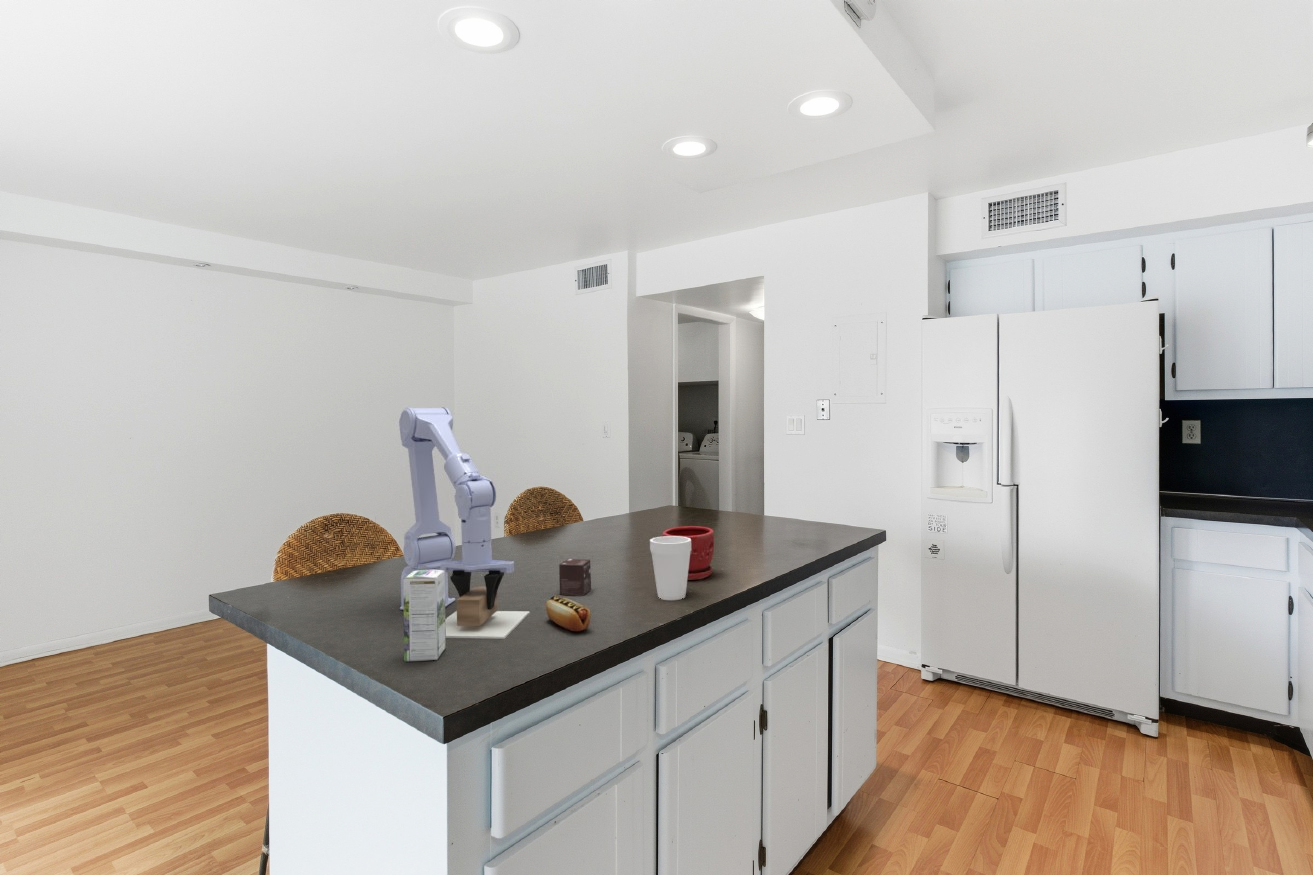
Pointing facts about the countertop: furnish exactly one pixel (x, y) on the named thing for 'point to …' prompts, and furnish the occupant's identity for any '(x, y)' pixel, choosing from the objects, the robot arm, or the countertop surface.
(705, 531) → the plant pot
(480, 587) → the wooden block
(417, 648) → the syrup box
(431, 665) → the countertop surface
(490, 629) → the mat
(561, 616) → the hot dog
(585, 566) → the box
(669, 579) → the foam cup
